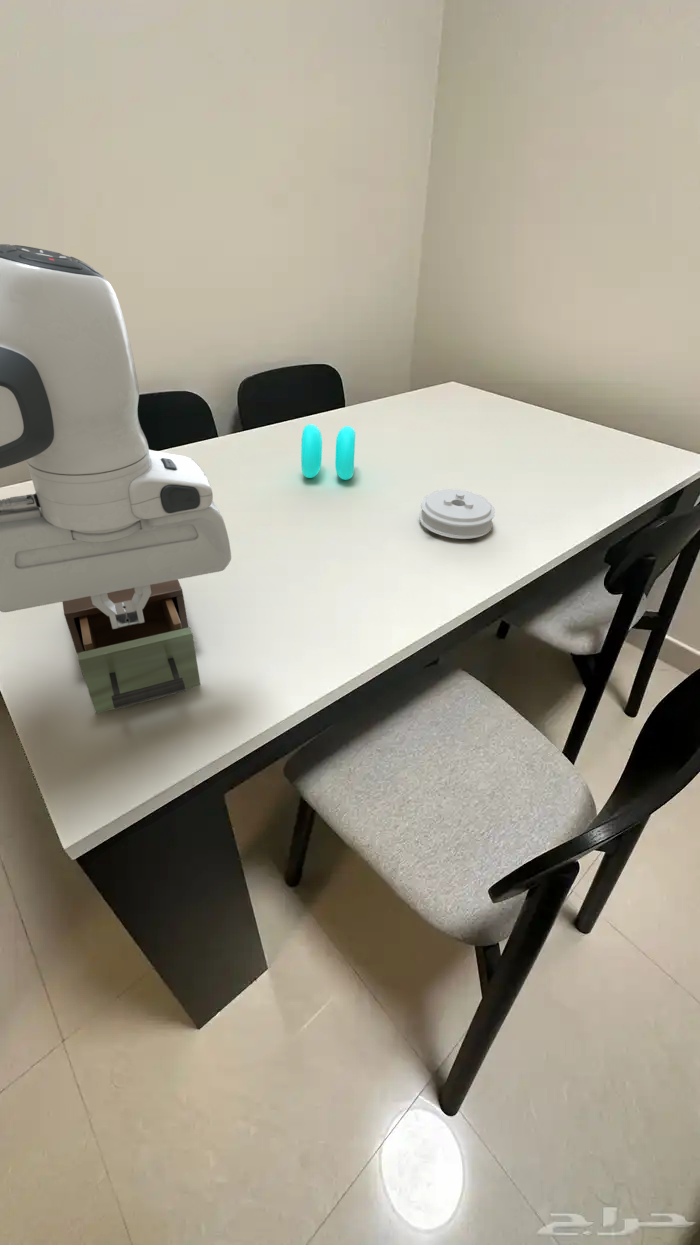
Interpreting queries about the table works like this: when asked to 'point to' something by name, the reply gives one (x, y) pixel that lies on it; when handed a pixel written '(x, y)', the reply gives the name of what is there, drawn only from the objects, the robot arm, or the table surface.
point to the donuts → (313, 452)
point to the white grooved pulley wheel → (457, 513)
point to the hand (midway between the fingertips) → (127, 622)
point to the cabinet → (85, 606)
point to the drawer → (137, 657)
